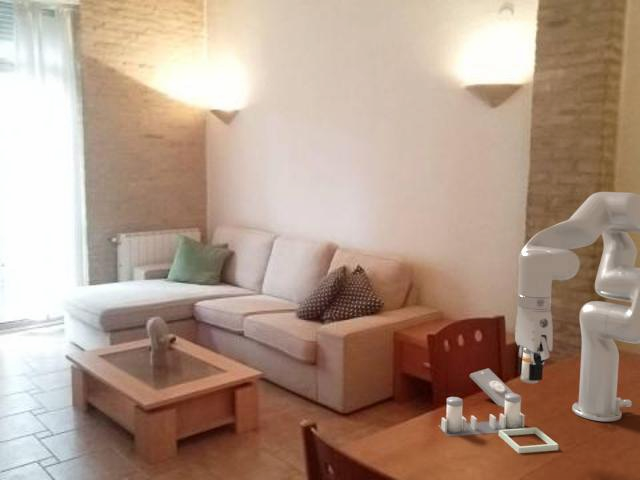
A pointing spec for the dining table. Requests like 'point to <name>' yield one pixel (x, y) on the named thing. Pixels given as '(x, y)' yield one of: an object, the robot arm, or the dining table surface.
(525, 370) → the cylinder
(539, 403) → the dining table surface
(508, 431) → the tray
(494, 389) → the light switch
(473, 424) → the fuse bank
